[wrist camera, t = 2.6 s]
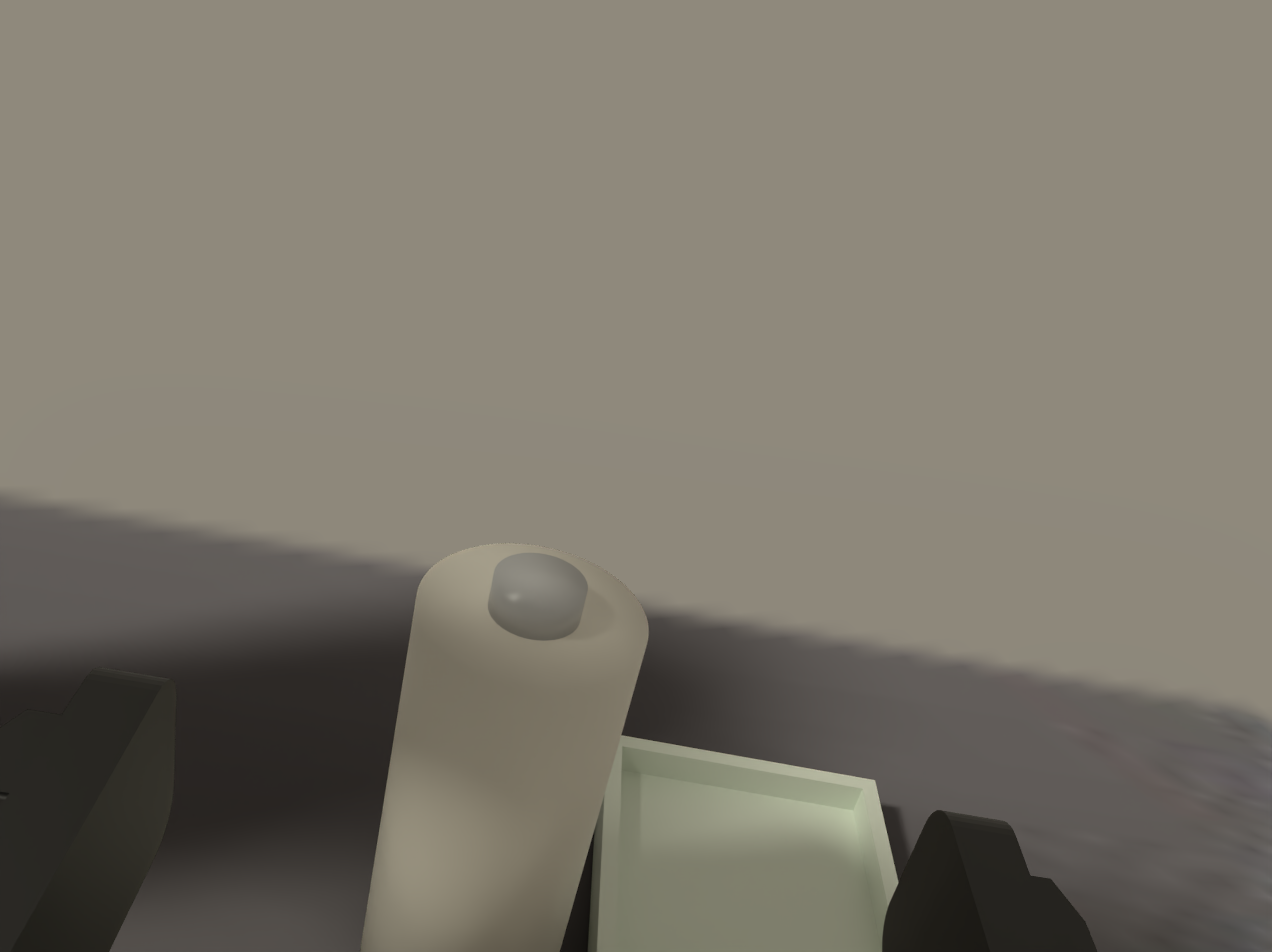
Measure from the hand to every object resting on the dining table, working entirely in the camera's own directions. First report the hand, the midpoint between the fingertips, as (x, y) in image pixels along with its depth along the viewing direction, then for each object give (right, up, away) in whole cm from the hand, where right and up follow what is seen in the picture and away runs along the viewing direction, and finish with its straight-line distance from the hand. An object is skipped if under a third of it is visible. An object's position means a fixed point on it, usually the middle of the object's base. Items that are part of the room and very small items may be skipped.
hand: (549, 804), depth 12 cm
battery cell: (-4, -10, +18) cm, 21 cm away
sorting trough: (+4, -9, +23) cm, 25 cm away
